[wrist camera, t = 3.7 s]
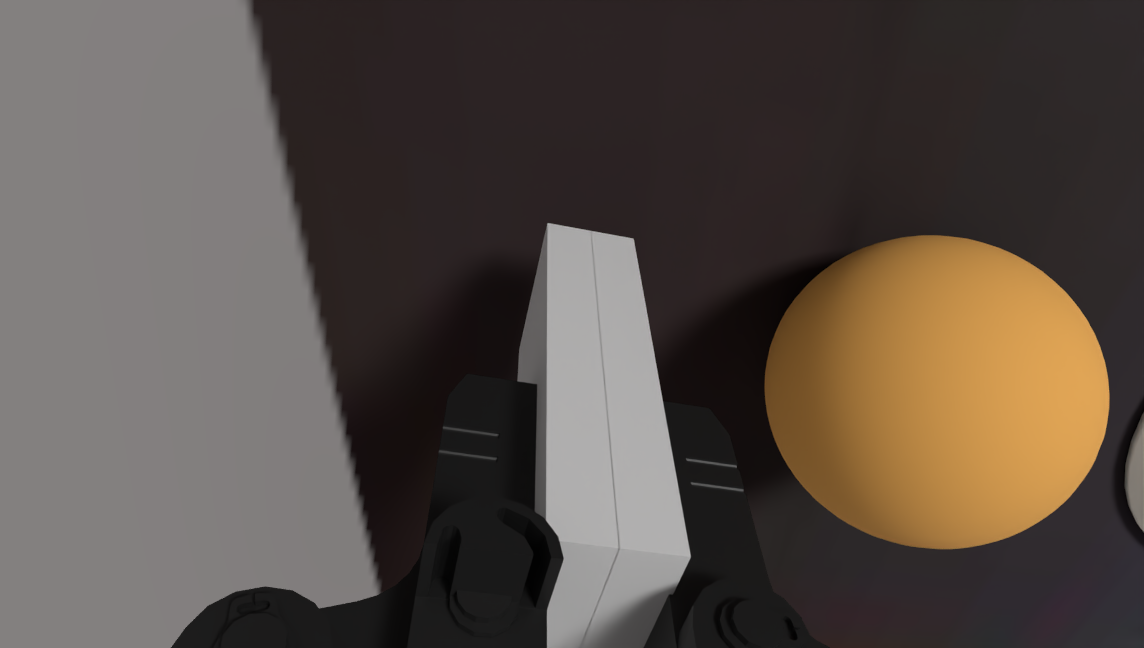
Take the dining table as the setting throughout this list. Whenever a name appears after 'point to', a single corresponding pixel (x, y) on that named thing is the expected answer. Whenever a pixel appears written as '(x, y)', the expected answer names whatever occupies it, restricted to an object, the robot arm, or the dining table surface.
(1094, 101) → the dining table surface
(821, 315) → the ball
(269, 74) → the dining table surface
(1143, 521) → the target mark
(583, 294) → the robot arm
